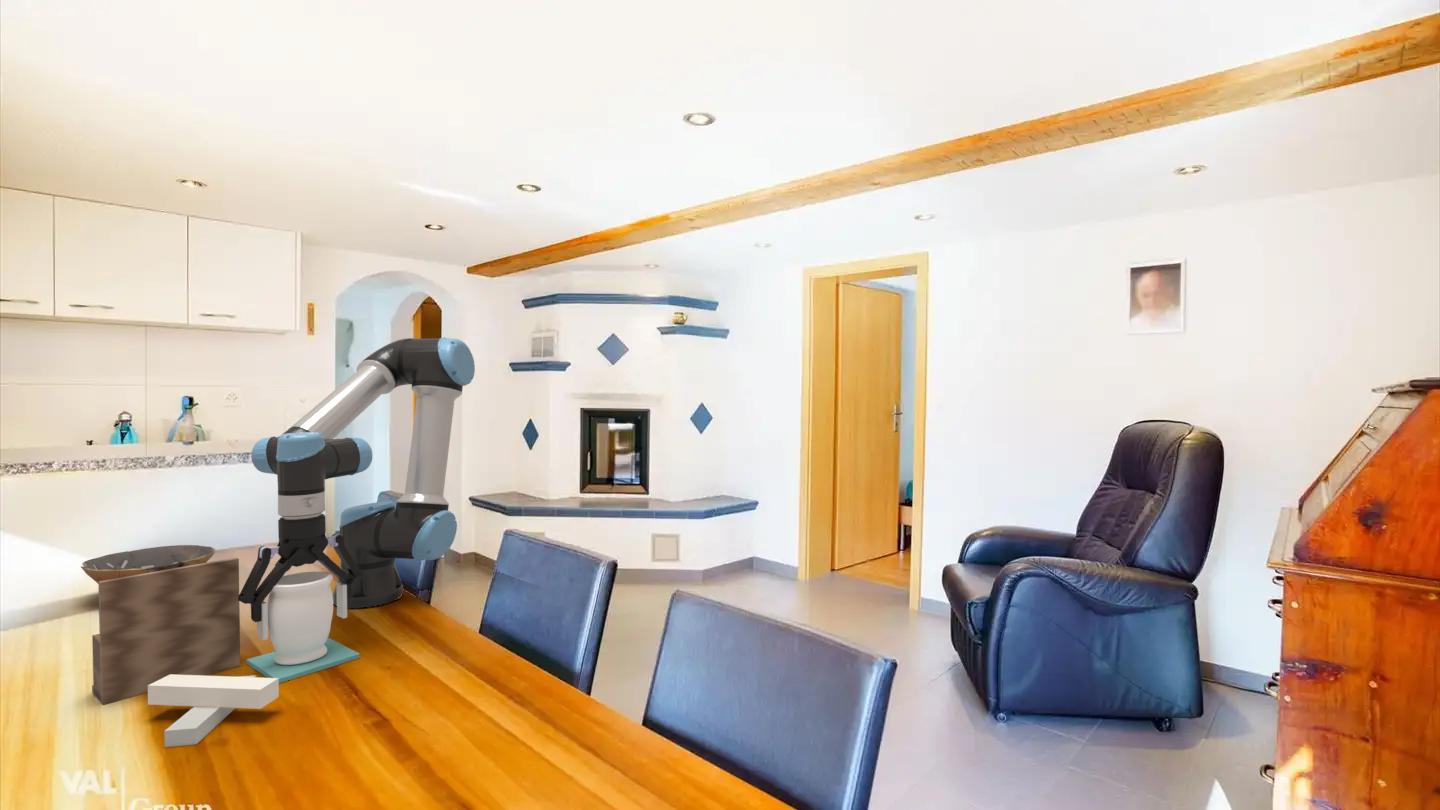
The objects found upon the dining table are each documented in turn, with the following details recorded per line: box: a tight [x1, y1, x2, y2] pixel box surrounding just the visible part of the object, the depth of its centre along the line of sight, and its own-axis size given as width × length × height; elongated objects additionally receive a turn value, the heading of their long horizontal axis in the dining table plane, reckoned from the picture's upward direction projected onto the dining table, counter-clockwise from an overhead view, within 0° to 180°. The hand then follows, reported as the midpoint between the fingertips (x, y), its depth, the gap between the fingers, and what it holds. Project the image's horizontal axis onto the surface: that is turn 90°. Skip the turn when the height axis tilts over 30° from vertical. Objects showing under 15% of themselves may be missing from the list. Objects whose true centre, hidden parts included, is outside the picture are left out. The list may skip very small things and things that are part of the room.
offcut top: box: [147, 674, 280, 710], centre depth 105 cm, size 18×4×3 cm, turn 88°
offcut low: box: [164, 674, 257, 748], centre depth 105 cm, size 18×4×3 cm, turn 12°
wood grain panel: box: [91, 557, 241, 706], centre depth 117 cm, size 19×7×20 cm, turn 144°
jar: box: [267, 570, 334, 665], centre depth 125 cm, size 11×10×15 cm
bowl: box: [80, 544, 216, 584], centre depth 163 cm, size 25×25×10 cm
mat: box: [246, 637, 361, 684], centre depth 125 cm, size 14×14×1 cm
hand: (304, 627), depth 125 cm, fingers open, 13 cm apart
